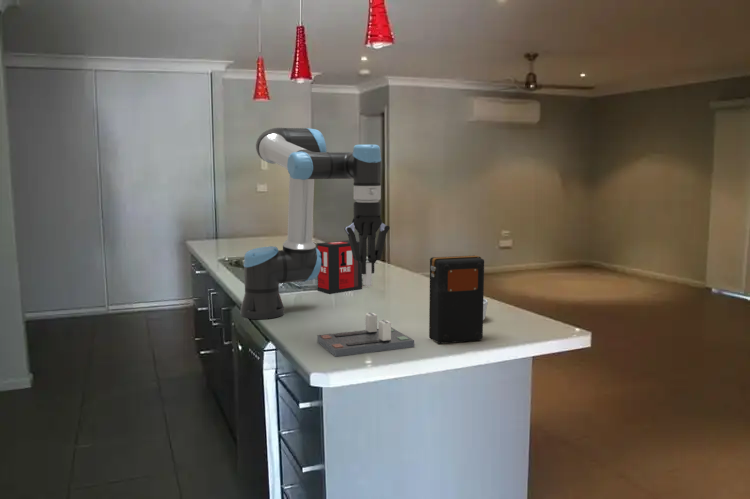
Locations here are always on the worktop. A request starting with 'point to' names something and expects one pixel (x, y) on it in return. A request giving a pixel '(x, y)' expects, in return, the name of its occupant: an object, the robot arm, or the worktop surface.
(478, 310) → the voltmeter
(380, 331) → the block
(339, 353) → the breaker panel
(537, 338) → the worktop surface
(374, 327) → the block
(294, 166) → the robot arm
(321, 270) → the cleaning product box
